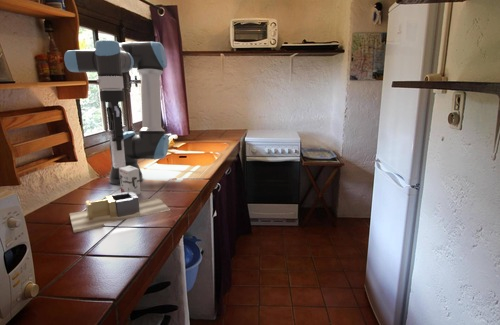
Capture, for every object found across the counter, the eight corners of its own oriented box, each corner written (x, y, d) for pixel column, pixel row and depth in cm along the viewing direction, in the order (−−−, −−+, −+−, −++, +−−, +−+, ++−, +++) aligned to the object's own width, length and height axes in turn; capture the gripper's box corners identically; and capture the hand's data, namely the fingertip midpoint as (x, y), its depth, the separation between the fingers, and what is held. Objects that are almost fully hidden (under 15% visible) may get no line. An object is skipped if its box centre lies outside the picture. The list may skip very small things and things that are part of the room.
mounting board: (69, 216, 122) (69, 213, 122) (158, 199, 138) (157, 197, 138) (73, 232, 109) (73, 229, 108) (171, 212, 125) (170, 209, 124)
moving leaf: (86, 214, 121) (84, 199, 119) (112, 209, 125) (111, 195, 124) (89, 221, 114) (87, 206, 113) (116, 216, 119) (115, 201, 117)
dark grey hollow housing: (113, 208, 126) (111, 194, 125) (134, 204, 130) (132, 190, 129) (118, 217, 118) (116, 202, 117) (140, 212, 122) (139, 198, 121)
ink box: (120, 194, 145) (117, 167, 142) (131, 191, 148) (128, 165, 146) (130, 198, 139) (128, 171, 136) (141, 195, 143) (139, 168, 140)
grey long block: (111, 166, 120) (107, 129, 117) (124, 164, 123) (121, 128, 120) (113, 168, 116) (109, 131, 113) (127, 167, 119) (124, 130, 116)
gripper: (95, 89, 118) (102, 155, 124) (104, 90, 104) (111, 164, 110) (118, 89, 122) (124, 152, 128) (129, 90, 108) (135, 161, 114)
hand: (118, 158), depth 119 cm, fingers closed on grey long block, 4 cm apart
